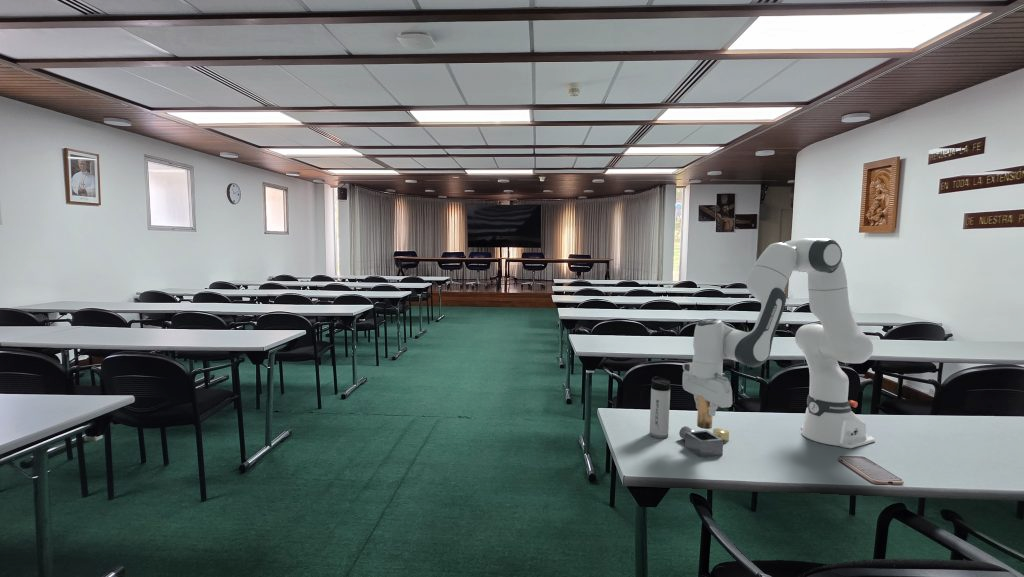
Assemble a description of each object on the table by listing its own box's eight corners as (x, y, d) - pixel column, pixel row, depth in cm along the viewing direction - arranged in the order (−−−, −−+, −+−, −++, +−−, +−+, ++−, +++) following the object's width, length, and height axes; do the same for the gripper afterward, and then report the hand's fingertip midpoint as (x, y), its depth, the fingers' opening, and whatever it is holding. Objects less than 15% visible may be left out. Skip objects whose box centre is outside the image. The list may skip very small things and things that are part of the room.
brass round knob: (721, 436, 163) (722, 427, 163) (731, 441, 158) (732, 433, 158) (709, 437, 162) (709, 429, 162) (719, 443, 157) (719, 434, 157)
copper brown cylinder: (705, 423, 153) (707, 393, 152) (714, 428, 148) (716, 397, 148) (694, 424, 151) (695, 394, 151) (702, 429, 147) (704, 398, 146)
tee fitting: (694, 437, 161) (695, 423, 161) (722, 454, 148) (723, 439, 147) (674, 439, 159) (675, 425, 159) (700, 457, 146) (701, 441, 145)
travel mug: (660, 430, 167) (662, 375, 166) (672, 437, 161) (674, 380, 160) (645, 432, 166) (647, 377, 164) (656, 439, 159) (658, 382, 158)
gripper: (739, 377, 139) (736, 423, 140) (696, 362, 159) (694, 401, 160) (720, 379, 138) (718, 424, 139) (679, 363, 157) (678, 403, 159)
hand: (705, 412), depth 150 cm, fingers closed on copper brown cylinder, 4 cm apart
